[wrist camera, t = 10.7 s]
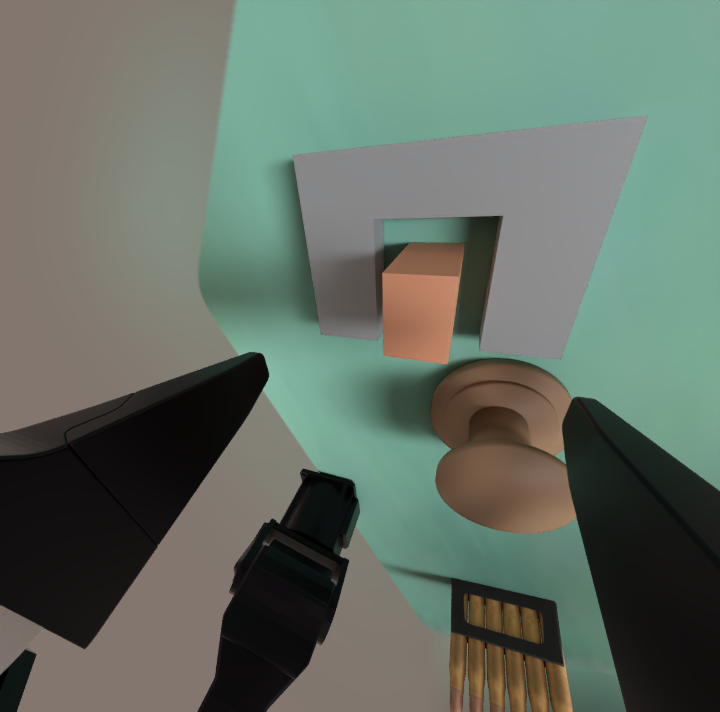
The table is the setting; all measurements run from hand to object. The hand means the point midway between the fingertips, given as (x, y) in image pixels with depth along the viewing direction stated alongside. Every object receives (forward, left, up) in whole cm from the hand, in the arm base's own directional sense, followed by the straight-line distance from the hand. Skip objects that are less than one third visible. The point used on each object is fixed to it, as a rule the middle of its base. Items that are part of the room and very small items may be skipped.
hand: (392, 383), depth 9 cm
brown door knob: (+5, -10, -11) cm, 15 cm away
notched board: (0, +1, -11) cm, 11 cm away
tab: (0, 0, -11) cm, 11 cm away
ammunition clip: (+10, -37, -11) cm, 40 cm away
